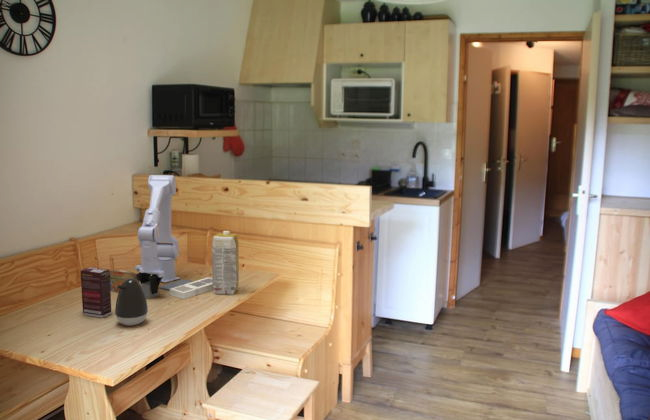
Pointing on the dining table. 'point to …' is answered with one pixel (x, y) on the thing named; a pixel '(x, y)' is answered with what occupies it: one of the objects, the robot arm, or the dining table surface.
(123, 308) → the black egg-shaped piece
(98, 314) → the supplement box
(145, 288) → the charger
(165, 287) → the phone
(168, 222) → the robot arm
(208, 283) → the outlet strip
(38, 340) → the dining table surface
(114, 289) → the tin
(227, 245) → the juice carton
